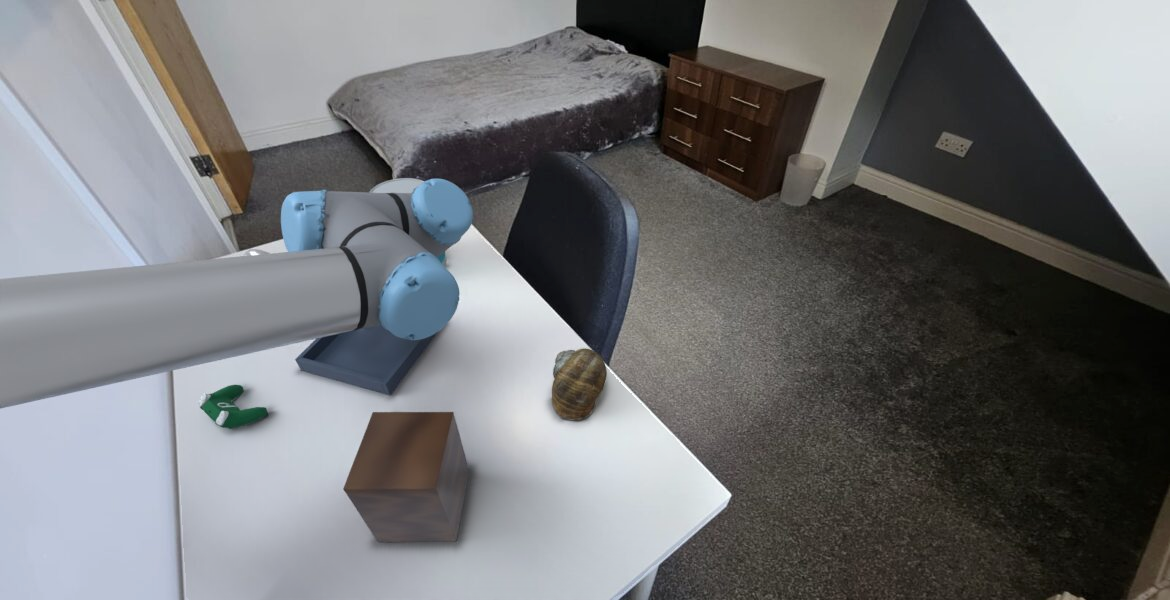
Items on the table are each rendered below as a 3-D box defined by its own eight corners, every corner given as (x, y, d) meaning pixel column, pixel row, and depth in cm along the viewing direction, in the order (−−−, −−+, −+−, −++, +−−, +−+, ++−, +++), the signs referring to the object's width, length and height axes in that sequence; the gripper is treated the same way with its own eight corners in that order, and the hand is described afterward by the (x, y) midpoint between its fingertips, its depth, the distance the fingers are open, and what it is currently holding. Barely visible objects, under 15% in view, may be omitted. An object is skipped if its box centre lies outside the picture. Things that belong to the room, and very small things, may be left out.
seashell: (567, 360, 84) (567, 328, 79) (615, 379, 81) (619, 347, 76) (535, 407, 76) (533, 375, 71) (587, 429, 73) (588, 398, 68)
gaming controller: (232, 403, 78) (190, 405, 72) (241, 382, 78) (200, 383, 72) (262, 431, 74) (220, 436, 68) (271, 409, 74) (230, 412, 68)
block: (377, 542, 60) (342, 489, 51) (399, 469, 68) (372, 411, 58) (456, 541, 60) (435, 488, 51) (469, 469, 68) (453, 411, 59)
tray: (301, 370, 81) (294, 359, 79) (365, 305, 94) (360, 294, 92) (390, 395, 77) (385, 384, 75) (444, 324, 90) (441, 313, 88)
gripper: (372, 312, 60) (321, 357, 76) (455, 243, 72) (397, 294, 88) (328, 268, 58) (285, 324, 74) (421, 205, 71) (367, 264, 86)
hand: (346, 307), depth 81 cm, fingers closed on milkshake, 5 cm apart
